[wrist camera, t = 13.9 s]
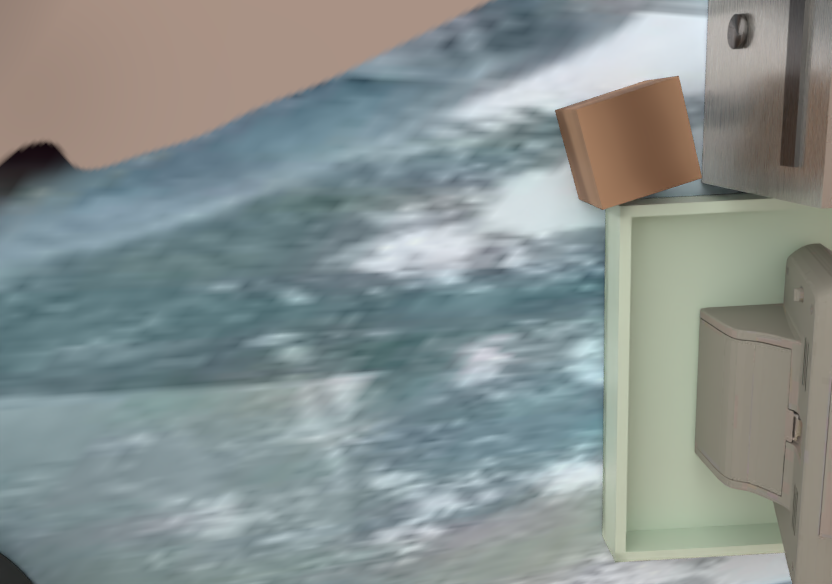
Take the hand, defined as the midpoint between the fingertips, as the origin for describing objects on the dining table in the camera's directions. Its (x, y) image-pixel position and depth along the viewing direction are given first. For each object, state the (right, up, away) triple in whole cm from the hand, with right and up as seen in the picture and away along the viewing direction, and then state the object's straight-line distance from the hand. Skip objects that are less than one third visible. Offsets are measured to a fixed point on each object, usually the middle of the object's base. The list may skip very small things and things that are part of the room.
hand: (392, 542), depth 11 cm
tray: (+20, -1, +33) cm, 39 cm away
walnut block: (+11, +12, +30) cm, 34 cm away
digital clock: (+21, -1, +33) cm, 39 cm away
